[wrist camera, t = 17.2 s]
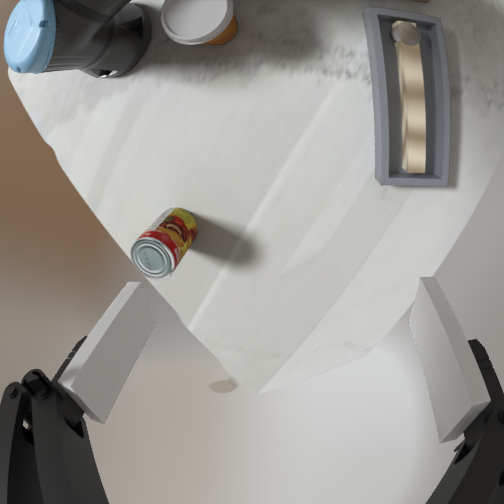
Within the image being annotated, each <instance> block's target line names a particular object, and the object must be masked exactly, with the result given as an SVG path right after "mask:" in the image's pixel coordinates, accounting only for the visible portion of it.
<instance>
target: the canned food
mask: <svg viewBox="0 0 504 504" xmlns="http://www.w3.org/2000/svg"><path fill="white" fill-rule="evenodd" d="M197 233H198V226H197V222H196V220H195V218H194V217H193V216H192V215H191V214H190V213H189V212H188V211H186V210H184V209H182V208H170V209H168V210H166V211H165V212H164V213H163V214H162V215H161V216H160V217H159V218H158V219H157V220H156V221H155V222H154V223H153V224H152V225H151V226H150V227H149V228H148V229H147V230H146V231H145V232H144V233H143V234H142V235H141V236H140V237H139V238H138V239H137V240H136V241H135V242H134V243H133V245H132V247H131V259H132V262H133V264H134V265H135V267H136V268H137V269H138V271H139V272H140V273H142V274H143V275H144V276H146V277H148V278H150V279H154V280H164V279H167V278H168V277H170V276H171V275H172V273H173V272H174V270H175V269H176V267H177V266H178V264H179V262H180V261H181V259H182V258H183V256H184V255H185V253H186V252H187V250H188V249H189V247H190V246H191V244H192V243H193V241H194V240H195V238H196V236H197Z"/></svg>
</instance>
